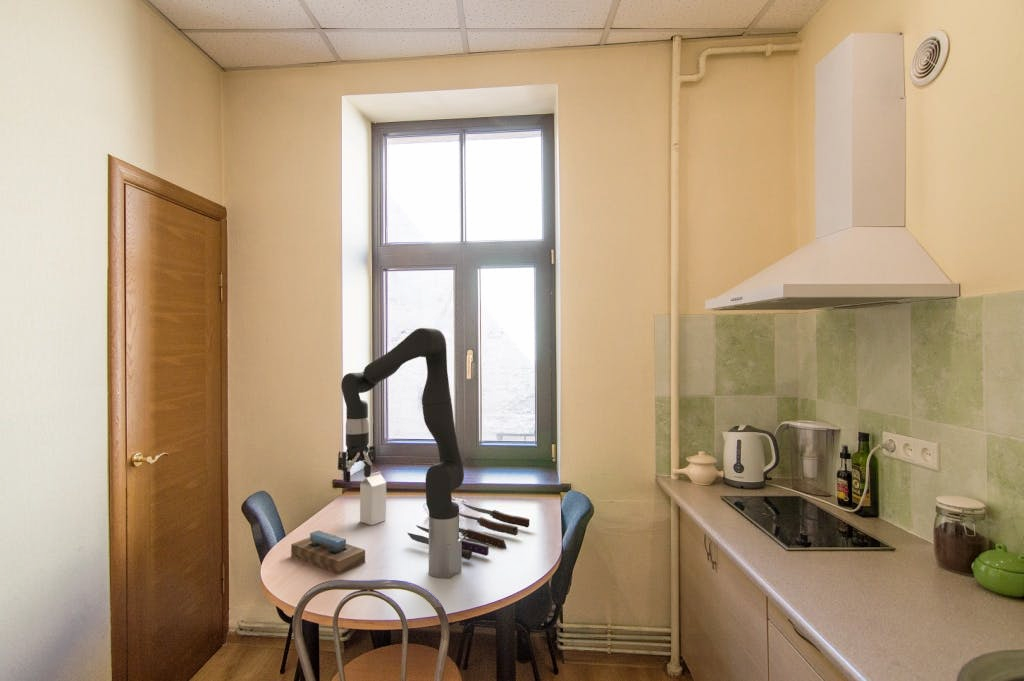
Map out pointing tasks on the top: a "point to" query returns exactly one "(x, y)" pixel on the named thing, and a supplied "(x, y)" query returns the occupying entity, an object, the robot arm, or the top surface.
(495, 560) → the top surface
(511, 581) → the top surface
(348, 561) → the socket block
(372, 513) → the milk carton
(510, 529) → the knife set
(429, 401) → the robot arm
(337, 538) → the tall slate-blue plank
